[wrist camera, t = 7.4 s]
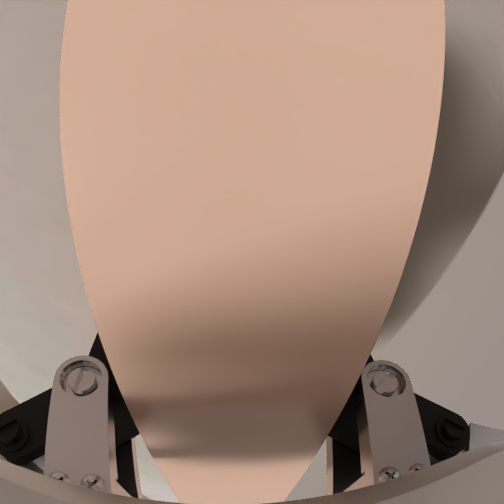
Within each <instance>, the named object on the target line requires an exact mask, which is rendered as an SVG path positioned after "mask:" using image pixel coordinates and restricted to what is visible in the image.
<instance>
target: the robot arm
mask: <svg viewBox="0 0 504 504" xmlns="http://www.w3.org/2000/svg"><path fill="white" fill-rule="evenodd" d="M138 434H140V433H139V431H138V429H137V427H136V425H135V422H134V420H133V418H132V416H131V414H130V412H129V410H128V408H127V405H126V403H125V401H124V399H123V396H122V394H121V392H120V389H119V387H118V385H117V382H116V380H115V377H114V375H113V372H112V370H111V367H110V364H109V362H108V359H107V356H106V354H105V351H104V348H103V345H102V343H101V340H100V337H99V334H98V333H97V336H96V338H95V341H94V343H93V346H92V348H91V351H90V353H89V356H76V357H73V358H71V359H68V360H67V361H65V362H64V363H62V364H61V365H60V367H59V368H58V369H57V371H56V374H55V376H54V381H53V387H52V388H51V389H49V390H47V391H45V392H43V393H41V394H39V395H37V396H35V397H33V398H31V399H29V400H27V401H25V402H23V403H21V404H19V405H17V406H15V407H13V408H11V409H9V410H7V411H5V412H3V413H2V414H0V504H185V503H172V502H162V501H154V500H146V499H142V493H141V487H140V480H139V472H138V464H137V456H136V446H135V436H137V435H138ZM326 441H327V495H326V496H321V497H315V498H309V499H302V500H294V501H286V502H276V503H263V504H504V431H503V430H498V429H494V428H489V427H485V426H481V425H477V424H473V423H470V424H469V425H467V423H466V421H465V420H464V419H463V418H462V417H461V416H459V415H458V414H456V413H454V412H452V411H450V410H448V409H446V408H444V407H442V406H440V405H437V404H435V403H434V402H431V401H429V400H427V399H425V398H423V397H421V396H419V395H417V394H415V393H414V392H413V388H412V384H411V381H410V379H409V376H408V374H407V373H406V372H405V371H404V370H403V369H402V368H401V367H400V366H398V365H397V364H394V363H392V362H390V361H384V360H378V361H374V360H373V358H372V356H371V354H370V356H369V358H368V360H367V362H366V364H365V366H364V368H363V370H362V373H361V375H360V377H359V379H358V381H357V383H356V385H355V387H354V389H353V391H352V393H351V394H350V396H349V398H348V400H347V402H346V404H345V406H344V408H343V409H342V411H341V413H340V415H339V417H338V418H337V420H336V422H335V424H334V425H333V427H332V429H331V431H330V432H329V434H328V436H327V437H326Z"/></svg>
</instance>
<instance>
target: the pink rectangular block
mask: <svg viewBox="0 0 504 504" xmlns="http://www.w3.org/2000/svg"><path fill="white" fill-rule="evenodd" d="M444 60H445V2H444V0H68V3H67V9H66V16H65V23H64V31H63V40H62V52H61V67H60V136H61V152H62V163H63V174H64V182H65V190H66V198H67V205H68V211H69V217H70V223H71V229H72V234H73V239H74V244H75V249H76V254H77V258H78V263H79V267H80V271H81V275H82V279H83V283H84V287H85V291H86V294H87V298H88V301H89V305H90V308H91V312H92V315H93V318H94V321H95V325H96V328H97V331H98V334H99V337H100V340H101V343H102V345H103V348H104V351H105V354H106V356H107V359H108V362H109V364H110V367H111V370H112V372H113V375H114V377H115V380H116V382H117V385H118V387H119V389H120V392H121V394H122V396H123V399H124V401H125V403H126V405H127V408H128V410H129V412H130V414H131V416H132V418H133V420H134V422H135V425H136V427H137V429H138V431H139V433H140V435H141V437H142V439H143V440H144V442H145V444H146V446H147V448H148V450H149V452H150V454H151V455H152V457H153V459H154V461H155V463H156V464H157V466H158V468H159V470H160V471H161V473H162V475H163V476H164V478H165V480H166V481H167V483H168V485H169V486H170V488H171V489H172V491H173V493H174V494H175V496H176V497H177V499H178V500H179V502H180V503H185V504H263V503H276V502H283V501H284V500H285V499H286V497H287V496H288V495H289V493H290V492H291V491H292V489H293V488H294V486H295V485H296V483H297V482H298V481H299V479H300V478H301V476H302V475H303V473H304V472H305V470H306V469H307V467H308V466H309V464H310V463H311V461H312V460H313V458H314V457H315V455H316V454H317V452H318V450H319V449H320V447H321V445H322V444H323V442H324V440H325V439H326V437H327V436H328V434H329V432H330V431H331V429H332V427H333V425H334V424H335V422H336V420H337V418H338V417H339V415H340V413H341V411H342V409H343V408H344V406H345V404H346V402H347V400H348V398H349V396H350V394H351V393H352V391H353V389H354V387H355V385H356V383H357V381H358V379H359V377H360V375H361V373H362V370H363V368H364V366H365V364H366V362H367V360H368V358H369V356H370V353H371V351H372V349H373V347H374V344H375V342H376V340H377V338H378V335H379V333H380V331H381V328H382V326H383V323H384V321H385V318H386V316H387V313H388V311H389V308H390V306H391V303H392V301H393V298H394V295H395V292H396V290H397V287H398V284H399V281H400V278H401V276H402V273H403V270H404V267H405V264H406V261H407V258H408V254H409V251H410V248H411V245H412V241H413V238H414V235H415V231H416V228H417V224H418V220H419V217H420V213H421V209H422V205H423V201H424V197H425V193H426V188H427V184H428V179H429V175H430V170H431V165H432V160H433V154H434V149H435V143H436V137H437V130H438V123H439V116H440V108H441V99H442V89H443V77H444Z"/></svg>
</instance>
